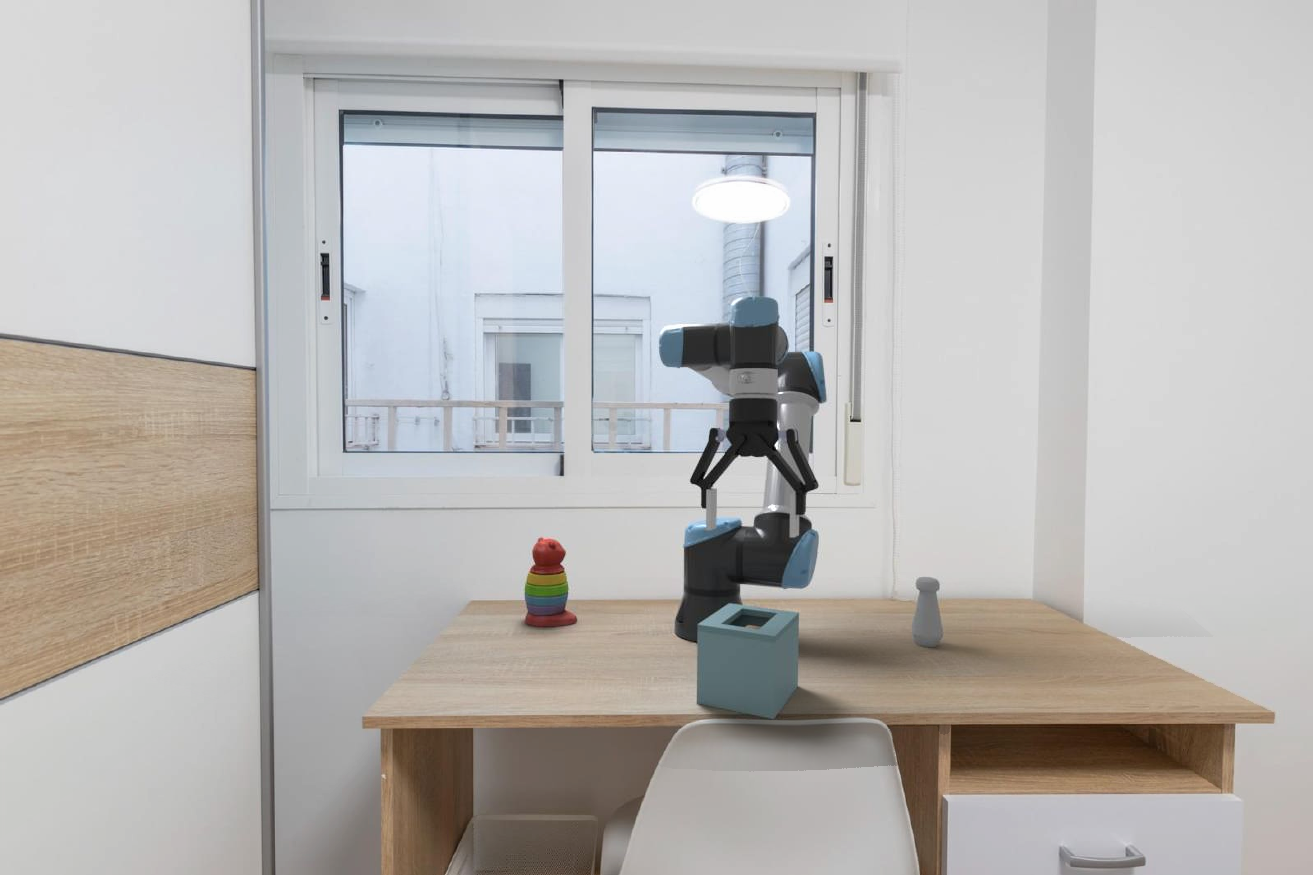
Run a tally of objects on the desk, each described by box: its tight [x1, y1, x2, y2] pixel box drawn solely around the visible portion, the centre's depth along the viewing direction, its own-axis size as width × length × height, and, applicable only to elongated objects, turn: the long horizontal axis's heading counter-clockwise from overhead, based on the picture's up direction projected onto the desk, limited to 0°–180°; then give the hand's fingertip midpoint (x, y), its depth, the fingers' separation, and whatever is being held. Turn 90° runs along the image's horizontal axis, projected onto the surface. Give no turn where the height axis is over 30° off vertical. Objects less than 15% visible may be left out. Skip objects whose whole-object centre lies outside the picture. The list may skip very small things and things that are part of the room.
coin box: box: [696, 603, 800, 720], centre depth 104 cm, size 12×14×12 cm
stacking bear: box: [524, 536, 578, 627], centre depth 142 cm, size 11×10×18 cm
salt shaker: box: [910, 576, 944, 648], centre depth 129 cm, size 6×6×13 cm
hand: (751, 532), depth 104 cm, fingers open, 13 cm apart
